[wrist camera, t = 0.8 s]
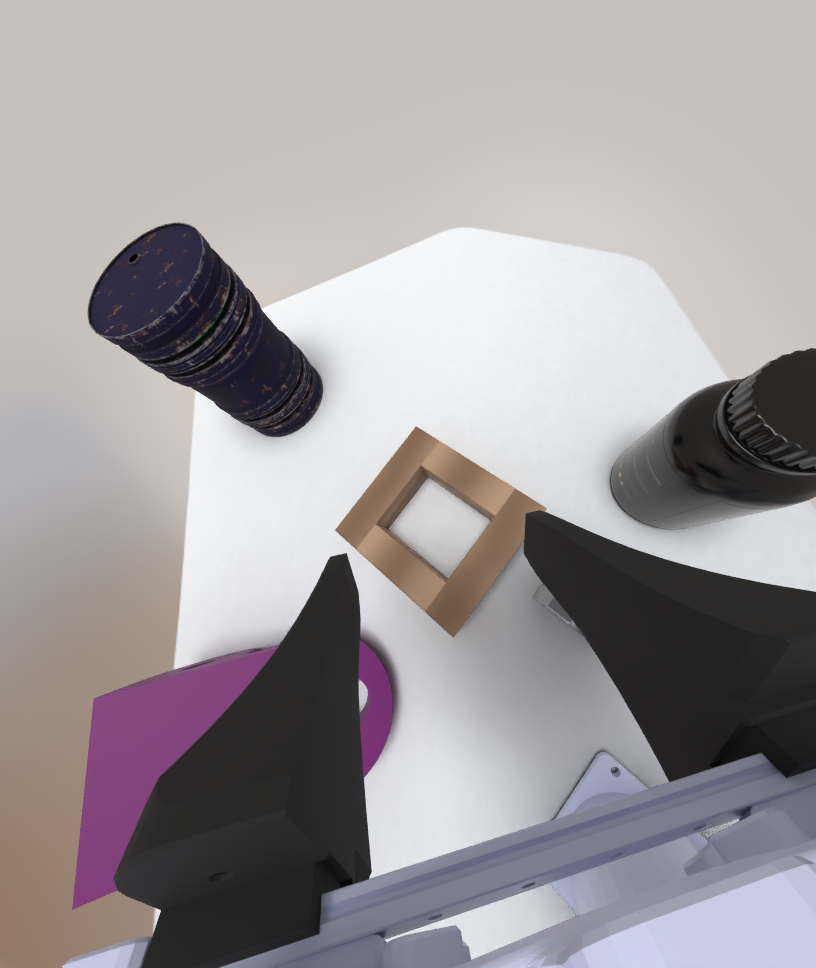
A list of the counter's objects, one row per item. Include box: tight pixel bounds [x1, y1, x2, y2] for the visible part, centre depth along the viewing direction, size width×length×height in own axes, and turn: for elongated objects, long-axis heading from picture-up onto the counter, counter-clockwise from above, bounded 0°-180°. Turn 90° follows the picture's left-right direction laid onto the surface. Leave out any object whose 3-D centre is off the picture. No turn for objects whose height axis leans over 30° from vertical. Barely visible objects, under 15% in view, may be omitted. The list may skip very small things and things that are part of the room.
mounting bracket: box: [72, 640, 393, 909], centre depth 23 cm, size 9×8×18 cm
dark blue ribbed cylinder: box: [88, 223, 323, 437], centre depth 27 cm, size 10×10×15 cm
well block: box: [335, 427, 547, 638], centre depth 24 cm, size 12×11×3 cm
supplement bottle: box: [611, 348, 816, 529], centre depth 17 cm, size 7×7×12 cm
